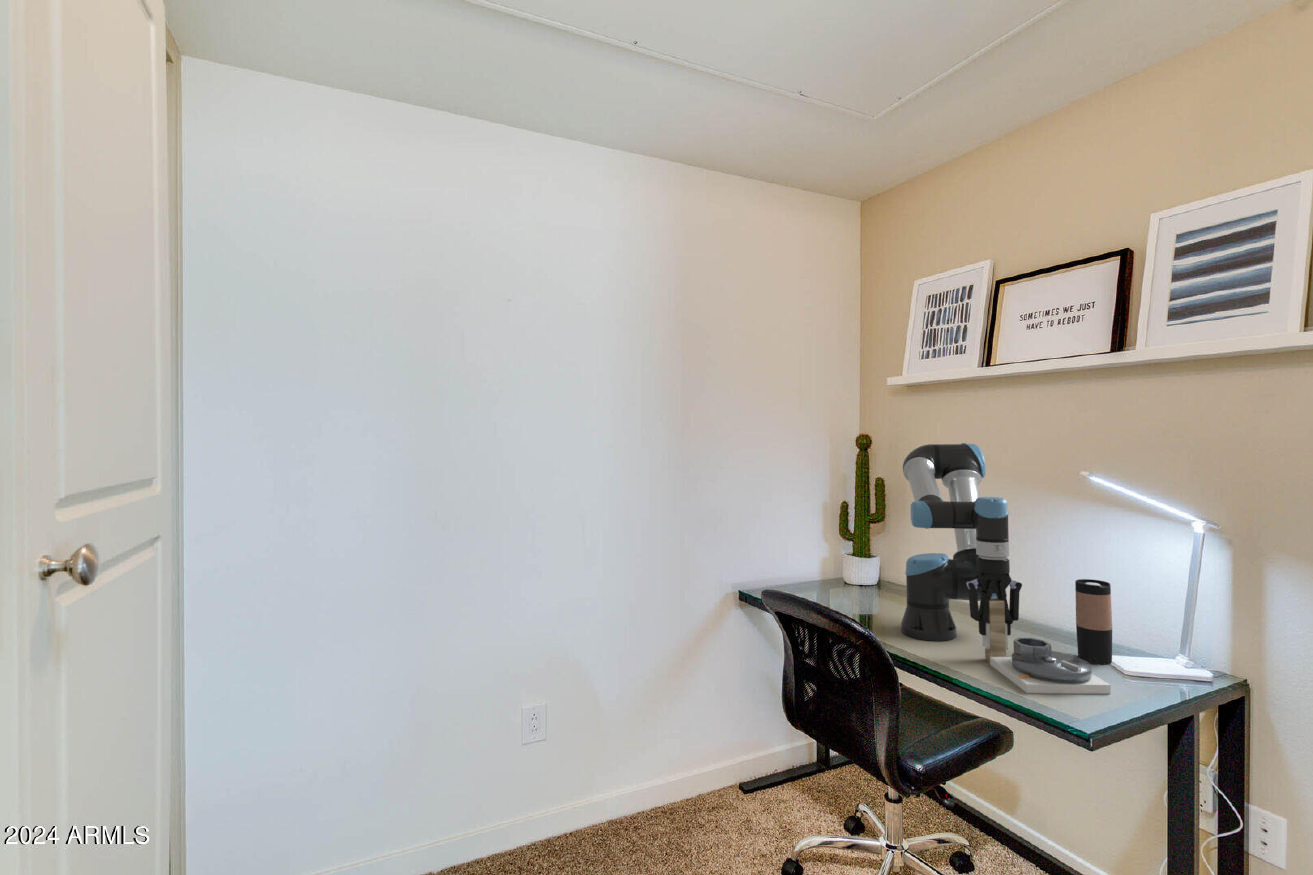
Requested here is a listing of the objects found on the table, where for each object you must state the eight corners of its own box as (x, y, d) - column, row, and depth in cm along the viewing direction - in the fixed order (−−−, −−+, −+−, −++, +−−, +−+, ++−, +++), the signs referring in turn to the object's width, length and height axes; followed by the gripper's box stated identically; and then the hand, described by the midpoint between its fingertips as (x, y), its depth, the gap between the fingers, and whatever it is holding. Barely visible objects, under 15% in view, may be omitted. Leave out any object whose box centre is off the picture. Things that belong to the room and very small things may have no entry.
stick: (985, 658, 161) (983, 597, 162) (999, 658, 161) (997, 597, 161) (991, 663, 158) (989, 601, 158) (1006, 663, 158) (1004, 601, 158)
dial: (998, 656, 155) (998, 637, 156) (1065, 656, 154) (1064, 637, 154) (1033, 681, 139) (1033, 660, 139) (1108, 682, 138) (1107, 660, 138)
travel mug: (1078, 652, 164) (1076, 577, 165) (1114, 658, 160) (1111, 581, 160) (1075, 660, 159) (1073, 583, 159) (1112, 667, 154) (1110, 586, 154)
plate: (990, 664, 157) (989, 654, 157) (1063, 664, 156) (1063, 655, 156) (1027, 693, 139) (1026, 682, 139) (1110, 693, 138) (1110, 682, 138)
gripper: (965, 560, 157) (968, 652, 156) (1033, 559, 155) (1036, 652, 155) (953, 554, 164) (956, 642, 164) (1018, 554, 163) (1021, 642, 163)
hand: (995, 647), depth 159 cm, fingers closed on stick, 4 cm apart
